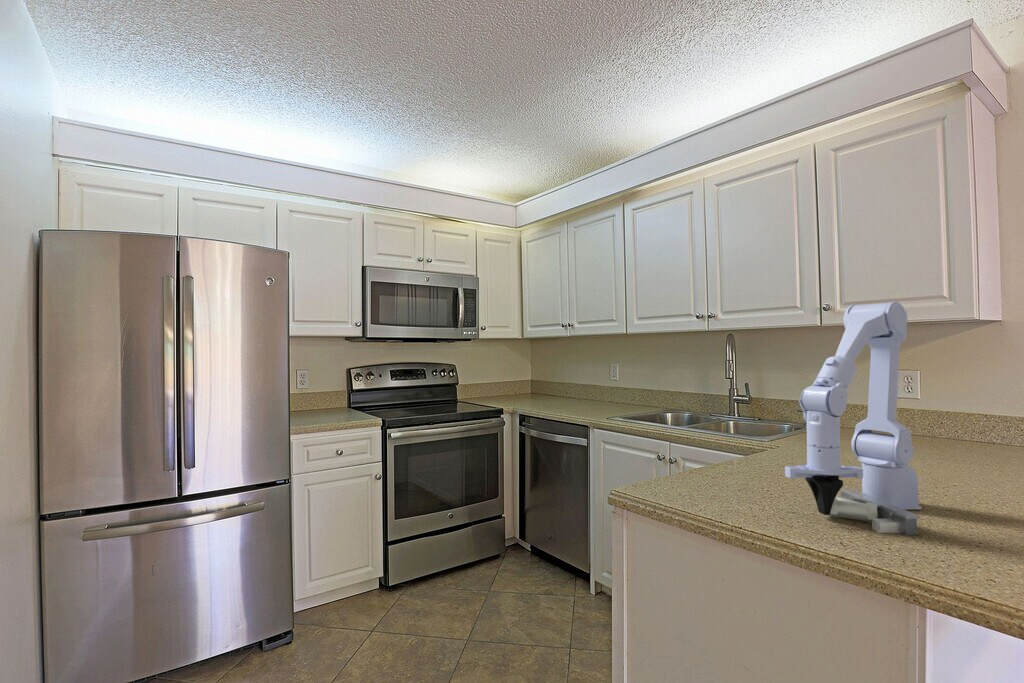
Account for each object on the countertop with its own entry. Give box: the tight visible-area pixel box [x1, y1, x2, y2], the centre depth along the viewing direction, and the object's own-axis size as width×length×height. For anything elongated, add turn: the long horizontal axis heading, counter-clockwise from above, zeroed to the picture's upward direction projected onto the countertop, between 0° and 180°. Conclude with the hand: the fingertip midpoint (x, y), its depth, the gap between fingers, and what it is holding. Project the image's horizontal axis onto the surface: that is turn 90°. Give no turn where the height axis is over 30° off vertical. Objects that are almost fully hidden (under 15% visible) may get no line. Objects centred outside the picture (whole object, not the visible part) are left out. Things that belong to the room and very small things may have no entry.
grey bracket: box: [835, 488, 921, 536], centre depth 100 cm, size 7×18×4 cm, turn 0°
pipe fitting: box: [827, 496, 878, 524], centre depth 101 cm, size 8×4×7 cm
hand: (824, 513), depth 100 cm, fingers closed
